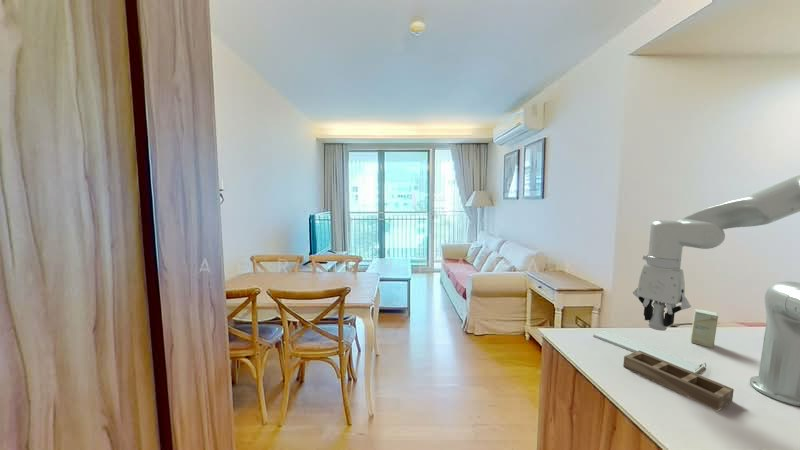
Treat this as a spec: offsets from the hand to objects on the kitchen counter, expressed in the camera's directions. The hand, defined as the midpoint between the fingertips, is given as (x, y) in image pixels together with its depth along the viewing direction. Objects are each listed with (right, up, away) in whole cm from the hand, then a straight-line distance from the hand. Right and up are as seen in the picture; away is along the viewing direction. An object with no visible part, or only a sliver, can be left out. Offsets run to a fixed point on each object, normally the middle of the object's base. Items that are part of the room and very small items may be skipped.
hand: (657, 321), depth 96 cm
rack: (+3, -17, -1) cm, 18 cm away
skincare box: (+35, -15, +23) cm, 44 cm away
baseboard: (+10, -16, +18) cm, 26 cm away
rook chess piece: (0, -2, 0) cm, 2 cm away
